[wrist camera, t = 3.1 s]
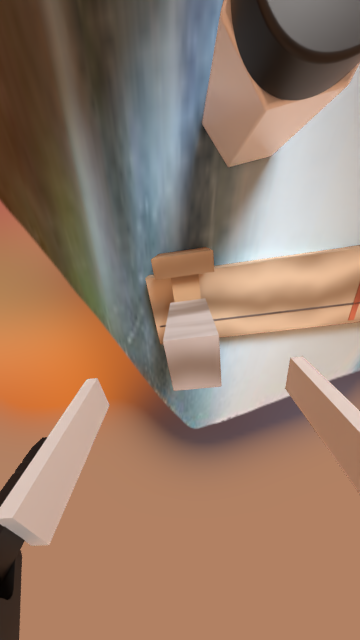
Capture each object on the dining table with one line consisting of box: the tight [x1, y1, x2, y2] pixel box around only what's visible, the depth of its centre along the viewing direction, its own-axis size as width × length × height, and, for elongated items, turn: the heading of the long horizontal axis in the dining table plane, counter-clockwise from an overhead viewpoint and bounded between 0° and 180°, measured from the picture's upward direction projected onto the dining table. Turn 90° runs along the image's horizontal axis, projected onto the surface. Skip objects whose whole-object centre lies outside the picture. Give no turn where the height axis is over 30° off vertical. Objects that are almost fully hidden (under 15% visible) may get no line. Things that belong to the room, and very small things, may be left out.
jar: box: [202, 0, 360, 167], centre depth 11 cm, size 9×8×12 cm
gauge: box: [151, 247, 221, 391], centre depth 19 cm, size 14×6×13 cm, turn 8°
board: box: [145, 245, 360, 344], centre depth 23 cm, size 10×34×2 cm, turn 98°
